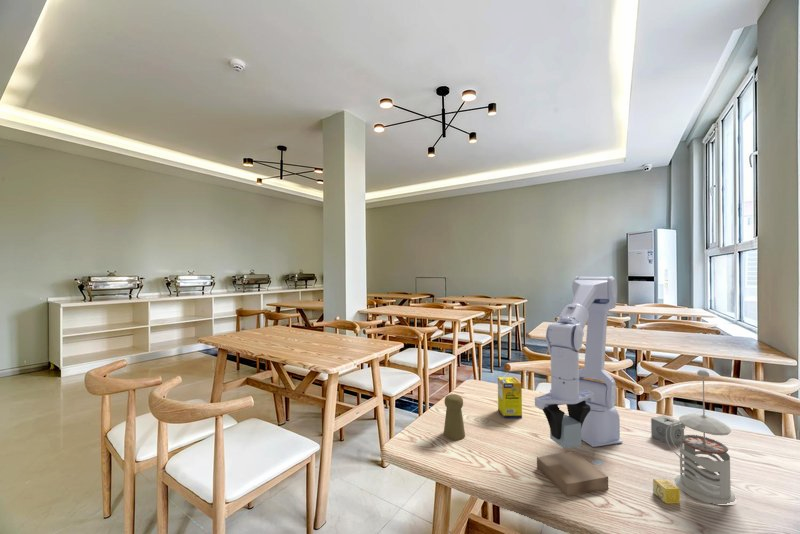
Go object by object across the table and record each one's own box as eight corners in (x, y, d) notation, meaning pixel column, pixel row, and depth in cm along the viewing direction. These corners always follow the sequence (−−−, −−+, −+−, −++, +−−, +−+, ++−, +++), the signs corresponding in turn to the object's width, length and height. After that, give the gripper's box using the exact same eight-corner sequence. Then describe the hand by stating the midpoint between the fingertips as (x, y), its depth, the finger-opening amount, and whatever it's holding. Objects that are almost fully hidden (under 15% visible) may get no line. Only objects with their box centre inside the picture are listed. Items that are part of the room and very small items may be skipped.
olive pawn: (441, 438, 92) (440, 398, 92) (446, 428, 98) (445, 390, 98) (462, 442, 90) (462, 401, 90) (467, 431, 95) (466, 393, 95)
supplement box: (522, 418, 103) (522, 382, 103) (503, 418, 103) (502, 383, 103) (516, 409, 109) (515, 376, 109) (497, 410, 109) (497, 376, 109)
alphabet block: (667, 492, 69) (666, 478, 69) (680, 503, 66) (680, 488, 66) (652, 493, 69) (652, 478, 69) (665, 504, 66) (665, 488, 66)
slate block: (566, 435, 79) (566, 414, 79) (581, 445, 74) (581, 423, 74) (550, 438, 78) (550, 417, 78) (564, 448, 73) (564, 425, 73)
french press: (722, 512, 63) (720, 380, 63) (655, 477, 74) (653, 364, 74) (748, 497, 67) (746, 373, 67) (680, 466, 78) (679, 359, 78)
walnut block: (573, 463, 80) (573, 451, 80) (608, 490, 70) (608, 476, 70) (537, 469, 78) (536, 457, 78) (567, 498, 68) (567, 484, 68)
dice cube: (684, 441, 88) (683, 422, 88) (671, 445, 87) (671, 426, 87) (663, 433, 93) (663, 415, 93) (651, 436, 91) (651, 418, 91)
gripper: (577, 368, 82) (578, 423, 82) (526, 373, 78) (526, 431, 78) (601, 377, 75) (602, 437, 75) (546, 383, 71) (547, 447, 71)
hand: (565, 435), depth 76 cm, fingers closed on slate block, 4 cm apart
